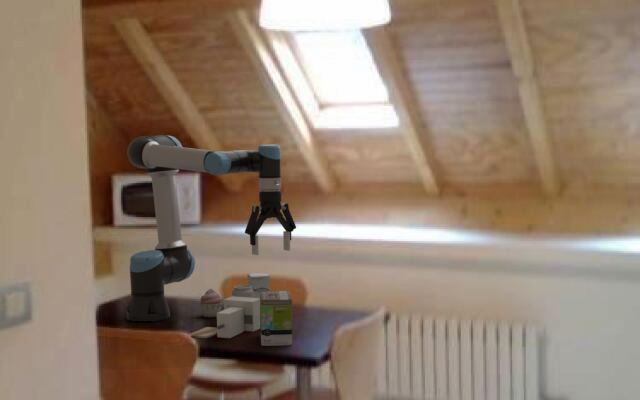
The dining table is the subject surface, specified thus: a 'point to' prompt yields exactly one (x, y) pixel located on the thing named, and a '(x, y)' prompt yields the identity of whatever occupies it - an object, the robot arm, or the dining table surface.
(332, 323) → the dining table surface
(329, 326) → the dining table surface
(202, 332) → the cork mat
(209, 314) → the cupcake
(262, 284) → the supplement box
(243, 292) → the can
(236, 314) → the charger plug
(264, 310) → the tea box
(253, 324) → the socket box
